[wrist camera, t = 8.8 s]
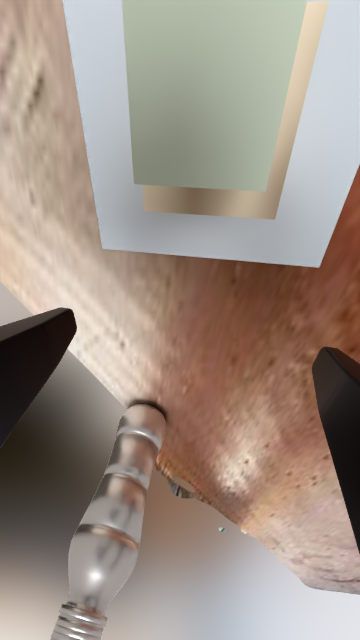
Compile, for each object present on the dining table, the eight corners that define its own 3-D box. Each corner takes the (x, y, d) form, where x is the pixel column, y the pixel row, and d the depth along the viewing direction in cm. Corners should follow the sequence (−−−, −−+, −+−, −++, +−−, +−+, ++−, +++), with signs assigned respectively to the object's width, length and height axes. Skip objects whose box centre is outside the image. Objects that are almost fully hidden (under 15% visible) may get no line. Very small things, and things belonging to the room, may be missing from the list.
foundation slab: (317, 20, 11) (329, 0, 10) (271, 215, 16) (275, 219, 15) (143, 26, 12) (133, 10, 11) (150, 207, 18) (144, 211, 16)
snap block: (266, 74, 12) (317, -46, 5) (247, 180, 14) (265, 191, 8) (177, 74, 12) (119, -33, 6) (175, 176, 15) (134, 184, 8)
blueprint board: (463, -115, 9) (472, -125, 9) (317, 265, 18) (319, 267, 18) (54, -75, 11) (49, -82, 11) (104, 247, 20) (102, 248, 20)
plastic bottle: (154, 393, 31) (72, 653, 14) (177, 423, 34) (131, 666, 17) (117, 401, 33) (11, 630, 17) (142, 428, 36) (72, 646, 20)
